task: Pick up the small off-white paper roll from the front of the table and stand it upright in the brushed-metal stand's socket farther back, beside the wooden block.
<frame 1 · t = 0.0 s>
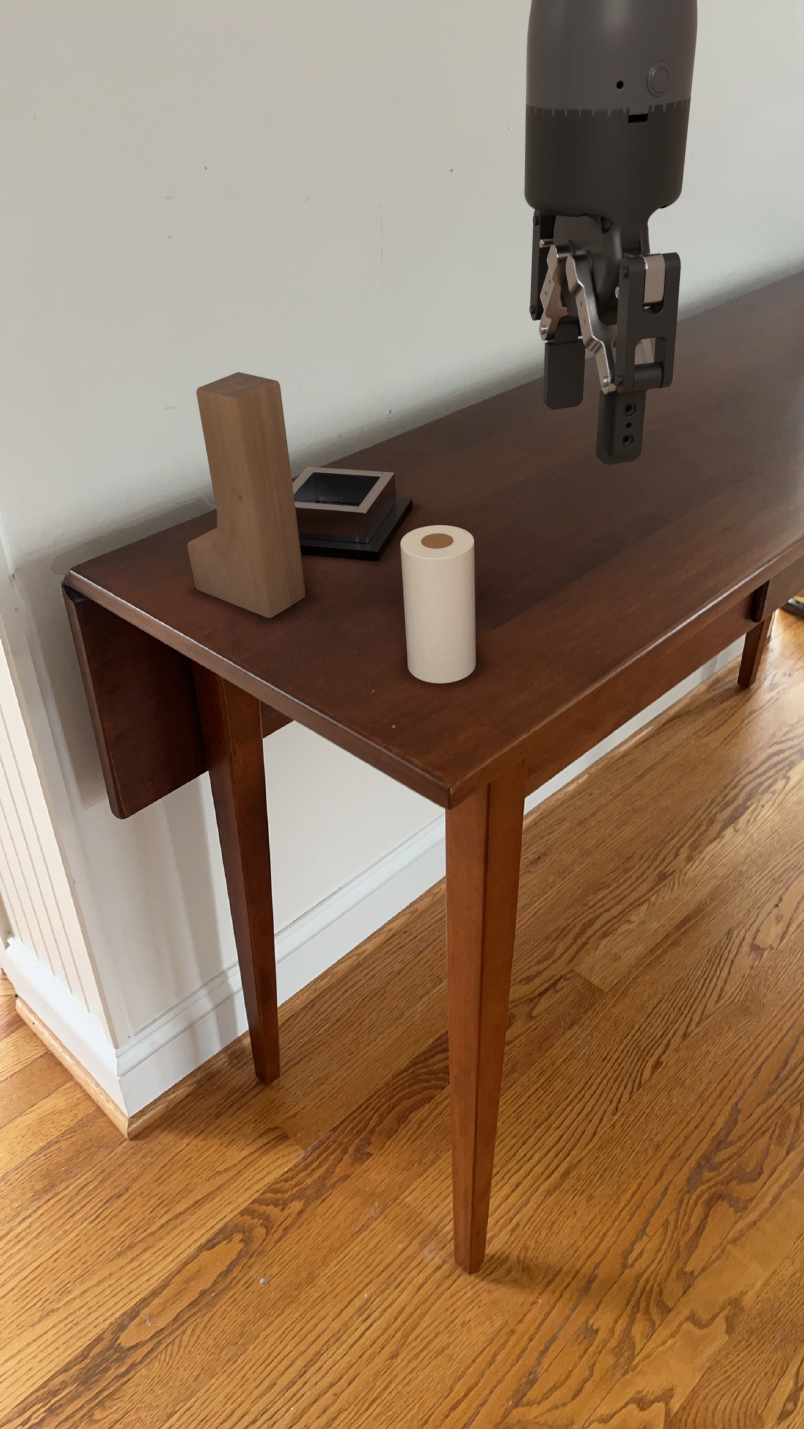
hand: (588, 432, 57), 20 cm above the table, tool pointing down, fingers open, 8 cm apart
stand: (339, 528, 94), on the table
paper roll: (441, 664, 75), on the table
wooden block: (250, 596, 85), on the table
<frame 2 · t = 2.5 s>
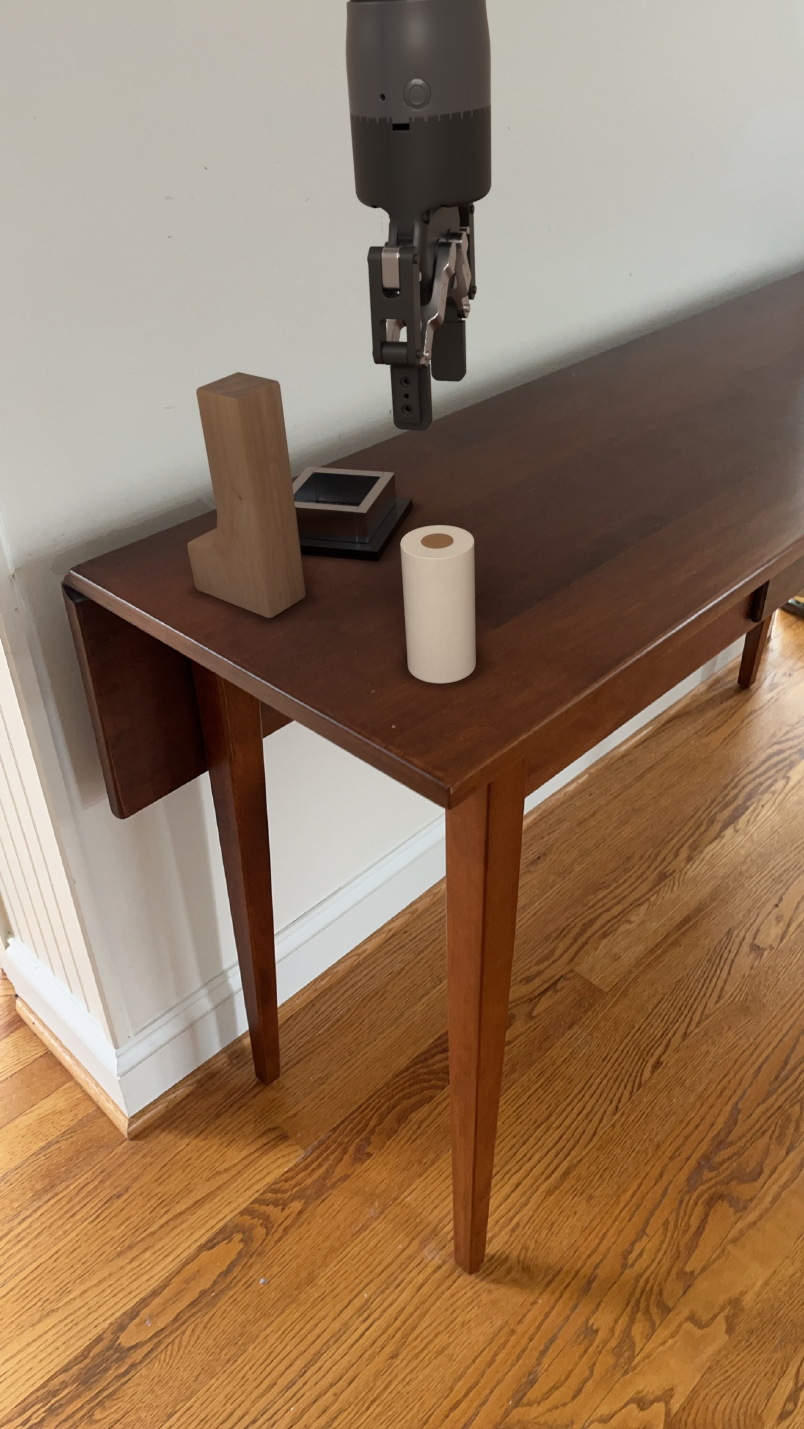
hand: (432, 402, 64), 20 cm above the table, tool pointing down, fingers open, 8 cm apart
nothing on the table moved.
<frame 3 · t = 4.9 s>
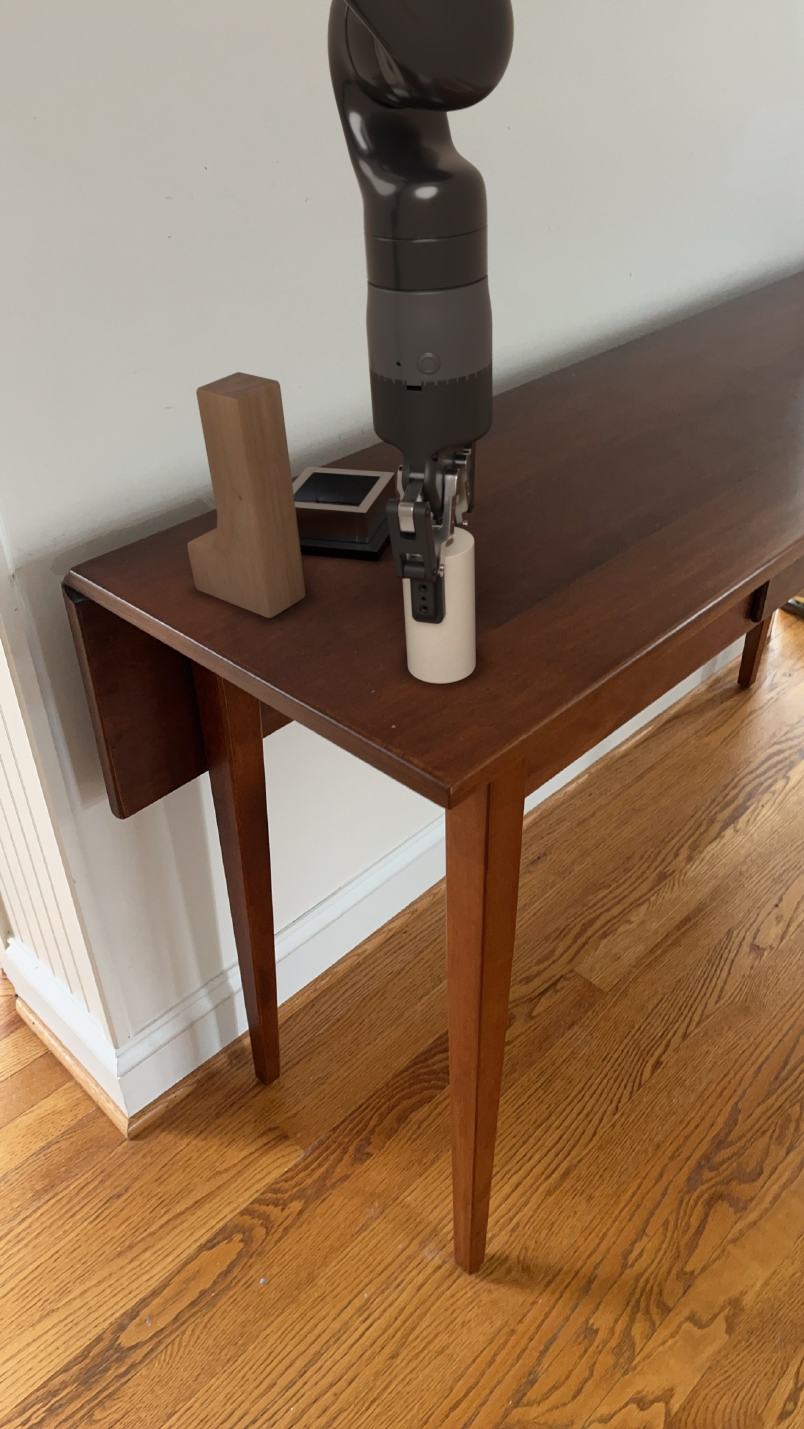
hand: (439, 599, 72), 6 cm above the table, tool pointing down, fingers closed on paper roll, 5 cm apart
paper roll: (441, 664, 75), on the table, touching gripper
everything else where it was.
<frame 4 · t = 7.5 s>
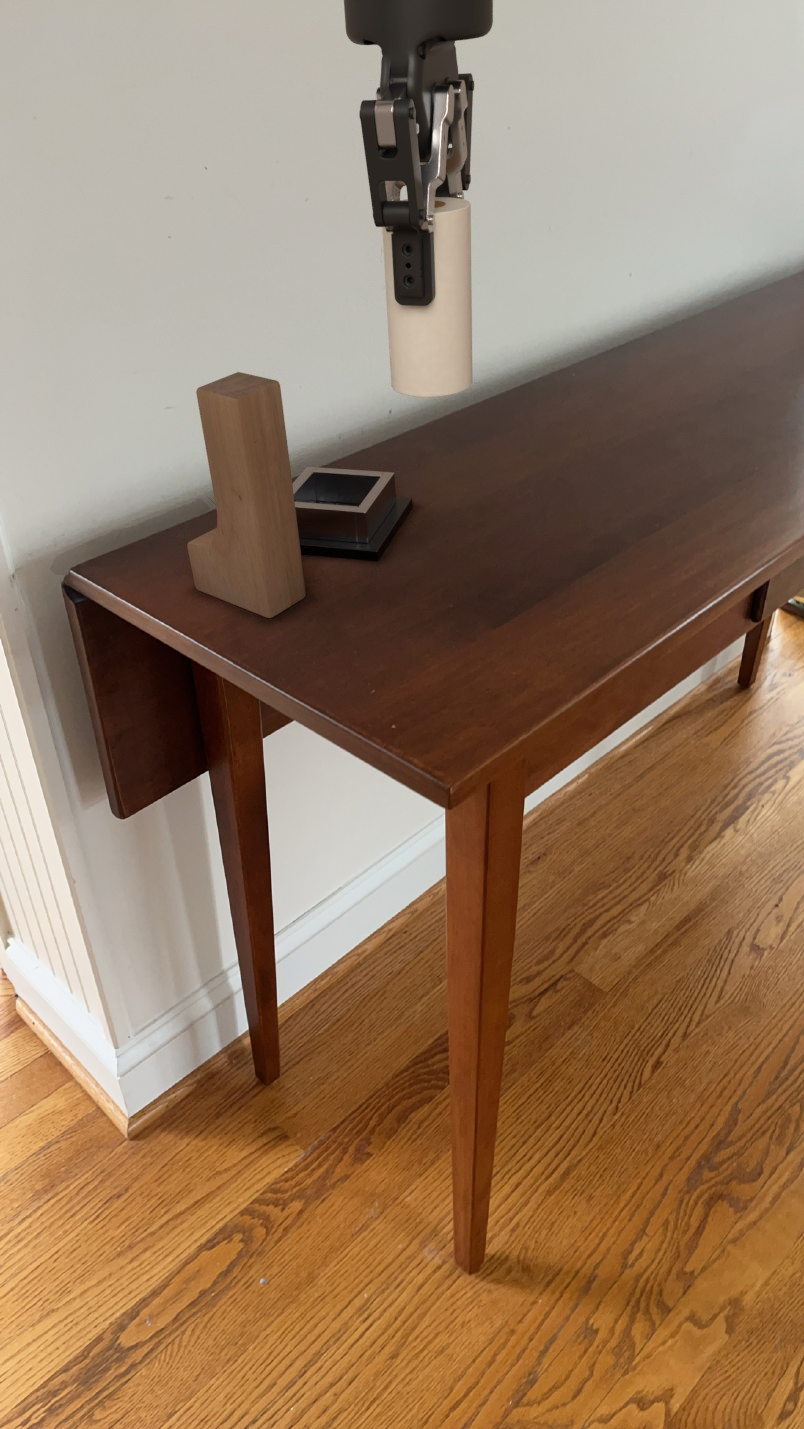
hand: (428, 289, 60), 26 cm above the table, tool pointing down, fingers closed on paper roll, 5 cm apart
paper roll: (431, 383, 63), point 21 cm above the table, touching gripper
everything else where it was.
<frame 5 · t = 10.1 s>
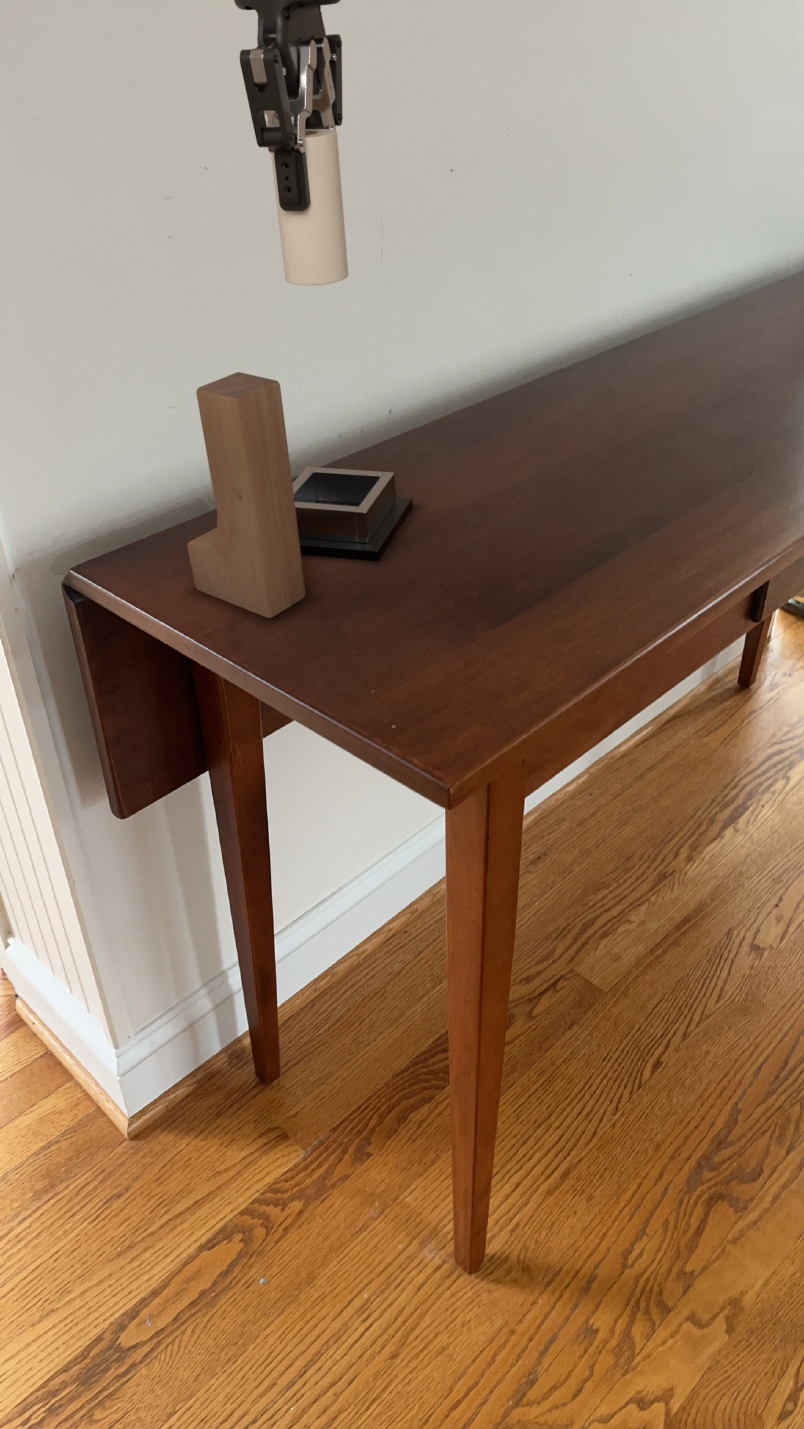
hand: (308, 201, 78), 27 cm above the table, tool pointing down, fingers closed on paper roll, 5 cm apart
paper roll: (316, 277, 81), point 22 cm above the table, touching gripper
everything else where it was.
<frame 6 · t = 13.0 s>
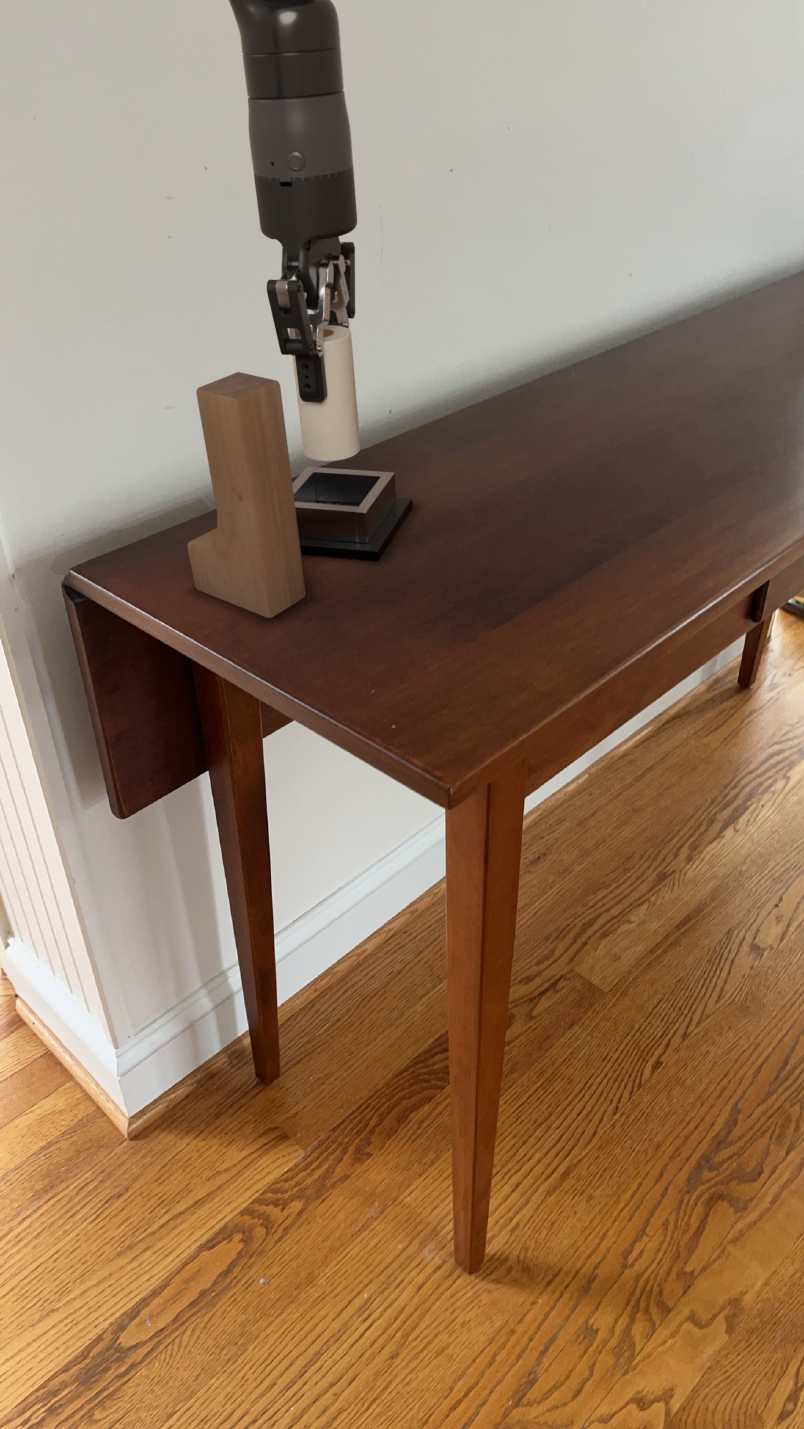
hand: (325, 388, 87), 13 cm above the table, tool pointing down, fingers closed on paper roll, 5 cm apart
paper roll: (332, 450, 90), point 8 cm above the table, touching gripper
everything else where it was.
when the fingers open (7 cm above the table, at t = 15.4 s): paper roll stays where it is, resting on stand.
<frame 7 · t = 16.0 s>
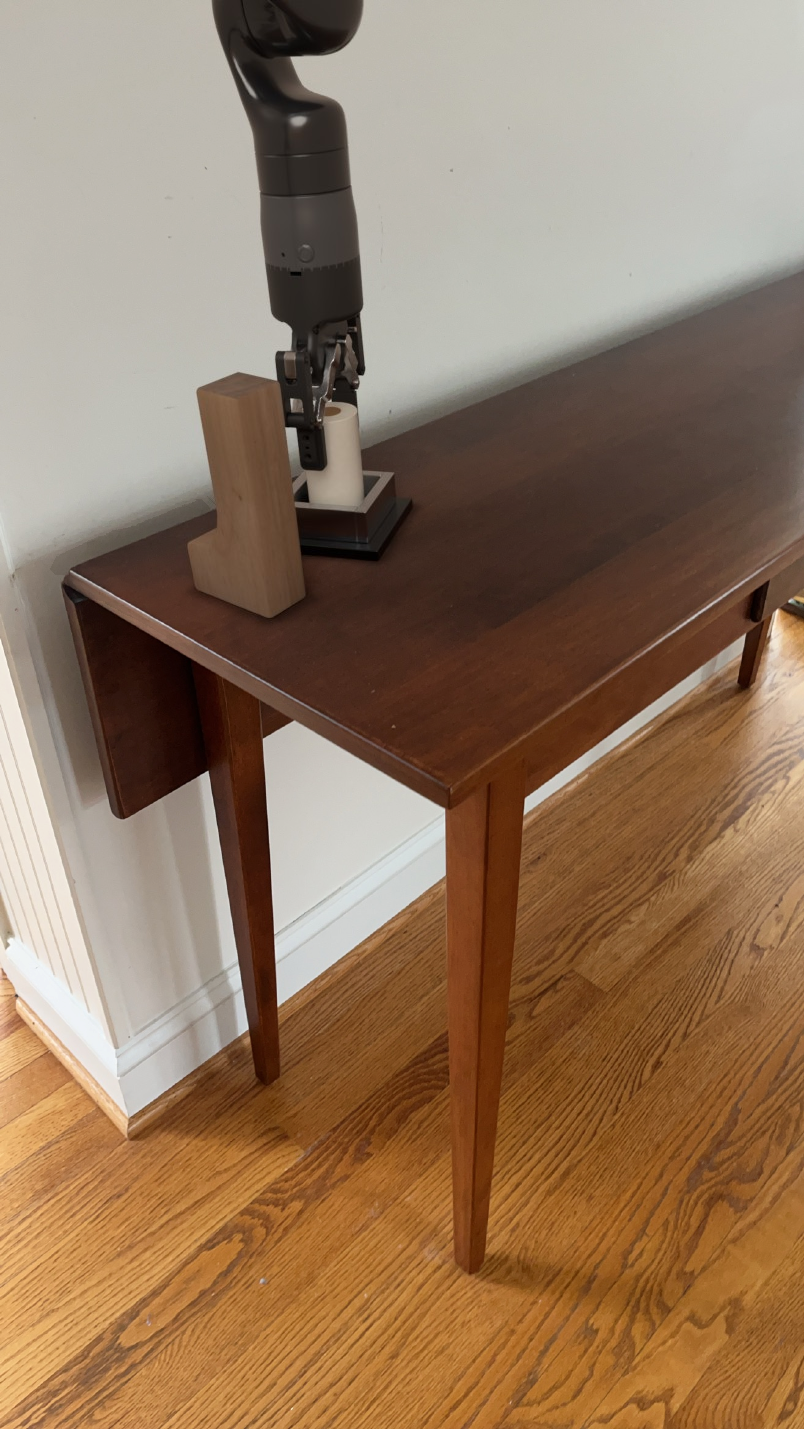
hand: (331, 449, 90), 8 cm above the table, tool pointing down, fingers open, 8 cm apart
paper roll: (338, 518, 94), point 1 cm above the table, touching stand
everything else where it was.
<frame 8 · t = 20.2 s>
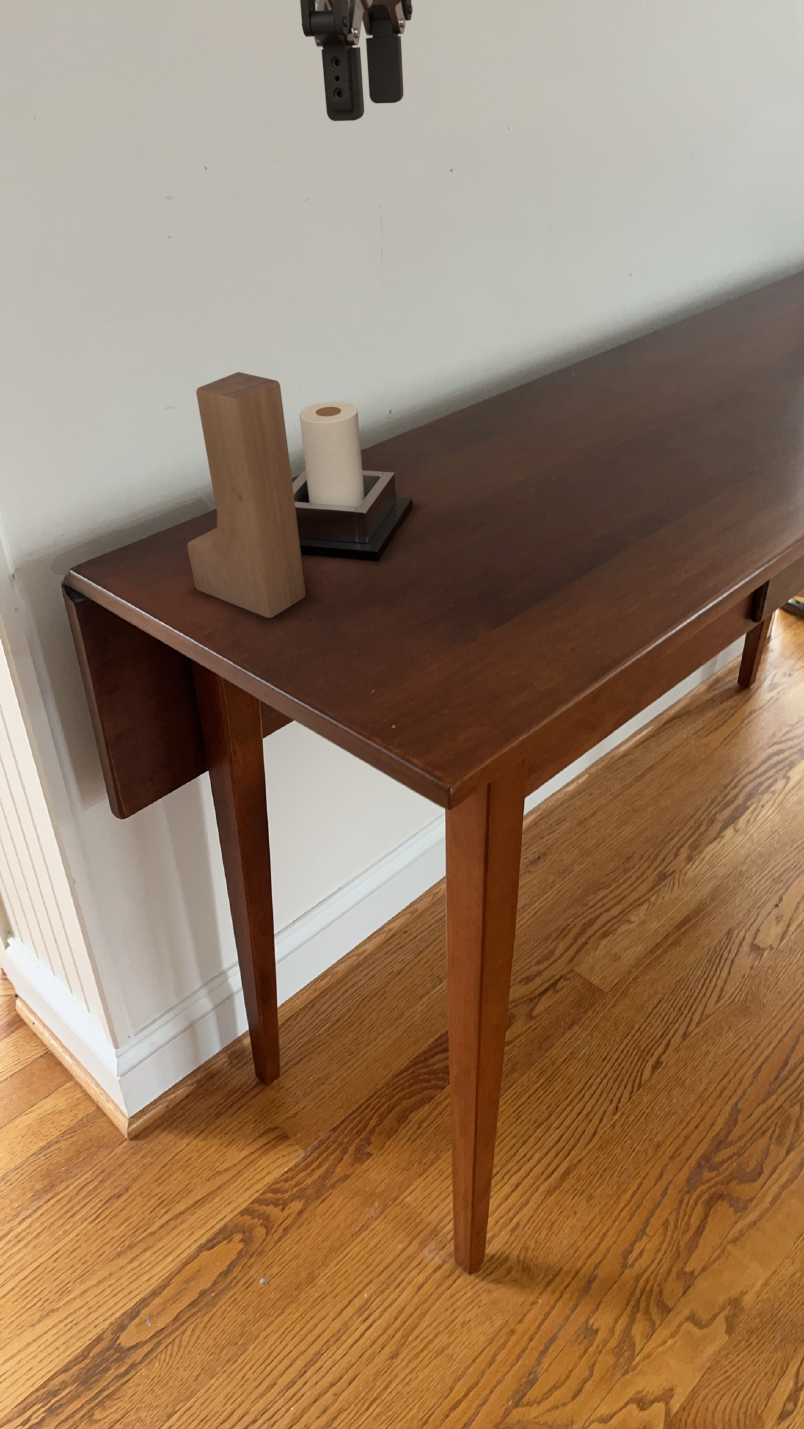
hand: (367, 111, 66), 34 cm above the table, tool pointing down, fingers open, 8 cm apart
nothing on the table moved.
at the end: paper roll 0.1 cm off-centre on the stand, point 1.0 cm above the stand's base; paper roll tilted 0°; the gripper is holding nothing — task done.
